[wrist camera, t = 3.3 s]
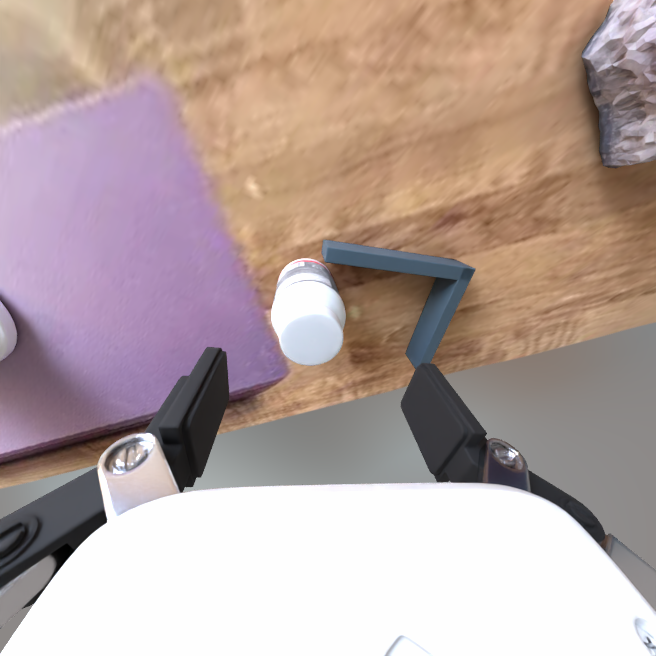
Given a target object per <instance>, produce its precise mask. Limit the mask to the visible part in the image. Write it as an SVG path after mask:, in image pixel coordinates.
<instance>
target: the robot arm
mask: <svg viewBox="0 0 656 656" xmlns="http://www.w3.org/2000/svg"><path fill="white" fill-rule="evenodd" d="M16 343H17V331H16V327H15V323H14V321H13V319H12V317H11V316H10V314H9V312H8V310H7V309H6V308H5V306H4V305H3V304H2V302H1V301H0V361H1V360H3V359H4V358H6V357H7V356H8V355H9V354H10V353H11V352H12V351H13V350H14V348H15V345H16ZM228 400H229V385H228V370H227V356H226V352H224V351H222V349H221V348H214V347H207V348H206V349H205V351H204V352H203V354H202V356H201V357H200V359H199V361H198V362H197V364H196V366H195V367H194V369H193V370H192V372H191V374H190V375H189V376H182V377H181V378H180V379H179V380H178V382H177V383H176V385H175V386H174V388H173V389H172V391H171V392H170V394H169V396H168V397H167V399H166V400H165V402H164V403H163V405H162V406H161V408H160V409H159V411H158V412H157V414H156V415H155V417H154V419H153V420H152V422H151V423H150V425H149V426H148V428H147V429H146V431H145V432H144V433H135V434H132V435H129V436H126V437H124V438H122V439H120V440H118V441H116V442H115V443H114V444H112V445H111V446H110V447H109V448H107V449H106V451H105V452H104V453H103V454H102V455H101V457H100V459H99V461H98V465H97V467H96V468H94V469H92V470H91V471H89V472H87V473H85V474H83V475H81V476H79V477H78V478H76V479H74V480H72V481H70V482H68V483H67V484H65V485H63V486H61V487H59V488H57V489H55V490H54V491H52V492H50V493H48V494H46V495H44V496H43V497H41V498H39V499H37V500H35V501H33V502H31V503H30V504H28V505H26V506H24V507H22V508H20V509H19V510H17V511H15V512H13V513H11V514H9V515H7V516H6V517H4V518H2V519H0V629H1V628H2V627H3V626H4V625H5V624H6V623H7V622H8V621H9V620H10V619H11V618H12V617H13V616H14V615H15V614H16V613H17V612H19V611H20V610H21V609H23V608H25V607H28V606H30V605H32V604H34V603H35V602H36V603H35V604H34V606H33V607H32V608H31V610H30V611H29V613H28V614H27V616H26V617H25V619H24V620H23V621H22V623H21V624H20V626H19V627H18V629H17V630H16V632H15V633H14V635H13V636H12V638H11V639H10V640H9V642H8V644H7V645H6V646H5V648H4V650H3V651H2V652H1V654H0V656H656V570H655V569H654V568H653V567H651V566H650V565H649V564H648V563H646V562H645V561H644V560H642V559H641V558H640V557H639V556H638V555H636V554H635V553H634V552H633V551H632V550H630V549H629V548H628V547H627V546H625V545H624V544H623V543H622V542H620V541H619V540H618V539H617V538H615V537H614V536H613V535H611V534H608V535H606V534H605V532H604V530H603V527H602V525H601V524H600V522H599V521H598V519H597V518H596V517H595V516H594V515H593V513H592V512H591V511H590V510H589V509H588V508H586V507H585V506H584V505H583V504H582V503H580V502H579V501H577V500H576V499H575V498H573V497H571V496H570V495H568V494H567V493H565V492H563V491H562V490H560V489H558V488H557V487H555V486H553V485H552V484H550V483H548V482H547V481H545V480H544V479H542V478H540V477H539V476H537V475H535V474H534V473H532V472H531V471H529V470H528V466H527V463H526V461H525V459H524V458H523V456H522V455H521V454H520V453H519V452H518V450H516V449H515V448H514V447H513V446H511V445H510V444H508V443H507V442H505V441H502V440H500V439H496V438H491V439H489V440H487V439H486V438H485V436H486V434H487V433H486V431H485V430H484V429H483V427H482V426H481V425H480V423H479V422H478V421H477V419H476V418H475V417H474V415H473V414H472V413H471V412H470V410H469V409H468V408H467V406H466V405H465V404H464V402H463V401H462V400H461V398H460V397H459V396H458V394H457V393H456V392H455V390H454V389H453V388H452V386H451V385H450V384H449V383H448V381H447V380H446V379H445V377H444V376H443V375H442V373H441V372H440V371H439V369H438V368H437V367H436V365H435V364H431V363H421V364H420V365H419V366H417V368H416V370H415V372H414V375H413V377H412V379H411V381H410V383H409V385H408V388H407V390H406V392H405V394H404V397H403V399H402V401H401V408H402V411H403V413H404V415H405V418H406V420H407V422H408V424H409V426H410V429H411V431H412V433H413V435H414V437H415V440H416V442H417V444H418V446H419V448H420V451H421V453H422V455H423V457H424V460H425V462H426V464H427V466H428V469H429V471H430V472H431V473H432V474H434V476H435V478H436V481H437V482H448V481H449V480H450V482H451V483H390V484H339V485H295V486H259V487H235V488H216V489H205V490H195V491H189V492H183V490H184V488H185V487H193V485H194V482H195V480H196V477H201V476H202V474H203V471H204V469H205V466H206V463H207V460H208V457H209V454H210V451H211V449H212V446H213V443H214V440H215V437H216V435H217V432H218V429H219V426H220V423H221V420H222V418H223V415H224V412H225V409H226V406H227V403H228Z"/></svg>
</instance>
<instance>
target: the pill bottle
mask: <svg viewBox="0 0 656 656" xmlns="http://www.w3.org/2000/svg"><path fill="white" fill-rule="evenodd" d="M271 319H272V325H273V328H274V330H275V332H276V333H277V335H278V336H279V342H280V347H281V349H282V351H283V353H284V354H285V355H286V356H287V357H288V358H289V359H290V360H292V361H293V362H296V363H298V364H301V365H308V366H312V365H319V364H322V363H325V362H327V361H329V360H331V359H332V358H333V357H334V356H336V355H337V353H338V352H339V350H340V349H341V347H342V344H343V328H344V325H345V320H346V312H345V307H344V303H343V301H342V299H341V297H340V294H339V292H338V290H337V287H336V285H335V282H334V279H333V277H332V275H331V273H330V271H329V270H328V269H327V267H326V266H324V265H323V264H322V263H320V262H318V261H316V260H313V259H298V260H295V261H293V262H291V263H290V264H288V265H287V266H286V267H285V268H284V269H283V271H282V272H281V274H280V277H279V280H278V284H277V289H276V293H275V297H274V302H273V307H272V314H271Z"/></svg>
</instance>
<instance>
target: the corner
mask: <svg viewBox="0 0 656 656" xmlns="http://www.w3.org/2000/svg"><path fill="white" fill-rule="evenodd" d="M322 255H323V258H324V260H325V262H327V263H334V264H342V265H349V266H357V267H364V268H371V269H379V270H386V271H394V272H401V273H408V274H416V275H423V276H431V277H436V279H435V282H434V284H433V287H432V289H431V292H430V294H429V296H428V299H427V301H426V304H425V306H424V309H423V311H422V314H421V316H420V319H419V321H418V324H417V326H416V328H415V331H414V333H413V336H412V338H411V341H410V343H409V346H408V348H407V351H406V353H405V354H406V355H407V357H408V358H409V360H410V361H411V363H412V365H413V366H414V368H415V369H416V368H417V366H419V365H420V364H421V363H430V362H431V360H432V358H433V356H434V354H435V352H436V350H437V348H438V346H439V344H440V342H441V340H442V338H443V336H444V333H445V331H446V329H447V327H448V325H449V323H450V321H451V319H452V317H453V315H454V313H455V311H456V309H457V307H458V305H459V303H460V300H461V298H462V296H463V294H464V292H465V290H466V288H467V286H468V284H469V282H470V280H471V278H472V276H473V274H474V272H475V270H476V269H475V268H473V267H470V266H468V265H466V264H464V263H461V262H459V261H457V260H454V259H448V258H441V257H434V256H428V255H421V254H415V253H408V252H402V251H395V250H388V249H382V248H375V247H369V246H362V245H356V244H349V243H343V242H336V241H330V240H323V246H322Z"/></svg>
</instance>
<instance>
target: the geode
mask: <svg viewBox="0 0 656 656" xmlns="http://www.w3.org/2000/svg"><path fill="white" fill-rule="evenodd" d="M582 59H583V63H584V66H585V69H586V72H587V82H588V86H589V90H590V93H591V95H592V96H593V99H594V102H595V105H596V107H597V108H598V110H599V125H598V127H599V129H600V146H599V153H600V156H601V159H602V163H603V166H605V167H608V168H618V167H621V166H624V165H633V164H639V163H645V162H650V161H653V160H656V0H614V1H613V3H612V4H611V5H610V8H609V10H608V13H607V16H606V19H605V20H604V22H603V23H602V24H601V26H600V27H599V28H598V30H597V31H596V32H595V34H594V35H593V36H592V38H591V39H590V41H589V42H588V44H587V46H586V47H585V49H584V50H583V52H582Z"/></svg>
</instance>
